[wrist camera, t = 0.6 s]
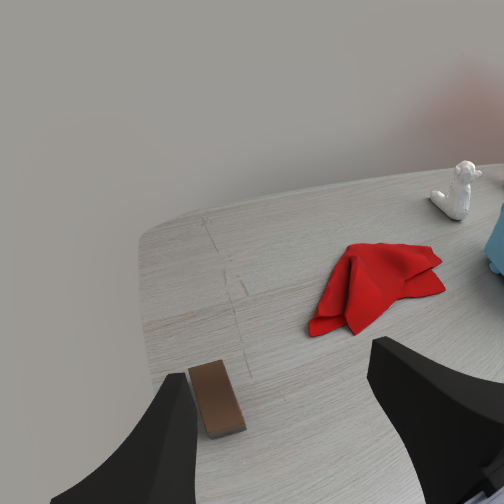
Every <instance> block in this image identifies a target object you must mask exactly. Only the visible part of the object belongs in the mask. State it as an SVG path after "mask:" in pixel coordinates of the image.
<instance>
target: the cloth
mask: <svg viewBox="0 0 504 504" xmlns="http://www.w3.org/2000/svg"><path fill="white" fill-rule="evenodd" d="M440 263H442V261H441V259H440V258H438V257H437V256H436V255H435V254H434V253H433V251H432V248H431V247H428V246H412V245H405V244H385V243H378V244H365V243H360V244H353V245H350V246H348V247H347V250H346V252H345V253H344V255H343V256H342V257H341V259H340V260H339V262H338V263H337V265H336V266H335V268H334V270H333V272H332V275H331V277H330V280H329V284H328V286H327V288H326V290H325V292H324V294H323V296H322V298H321V300H320V303H319V305H318V307H317V310H316V313H315V315H314V318H312V319H311V320H310V321H309V335H310V336H311V337H315V336H319V335H322V334H325V333H328V332H330V331H332V330H334V329H336V328H338V327H340V326H343V325H345V324H348V327H349V328H350V329H351V331H352V332H353V333H354V335H356V334H358V333H359V332H360V331H362V330H363V329H364V328H365V327H367V326H368V325H369V324H371V323H372V322H373V321H374V320H375V319H377V318H378V317H379V316H380V315H381V314H382V313H383V312H384V311H385V310H386V309H387V308H388V307H389V306H390V305H391V304H392V303H394V302H395V300H397V299H403V298H404V297H413V298H415V297H424V296H429V295H433V294H437V293H440V292H443V291H445V290H446V289H445V287H444V285H443V284H442V282H441V281H440V280H439V278H438V277H437V275H436V274H435V273H434V272H433V271H432V270H431V269H430V267H432V268H434V267H436V266H437V265H439V264H440Z"/></svg>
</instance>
